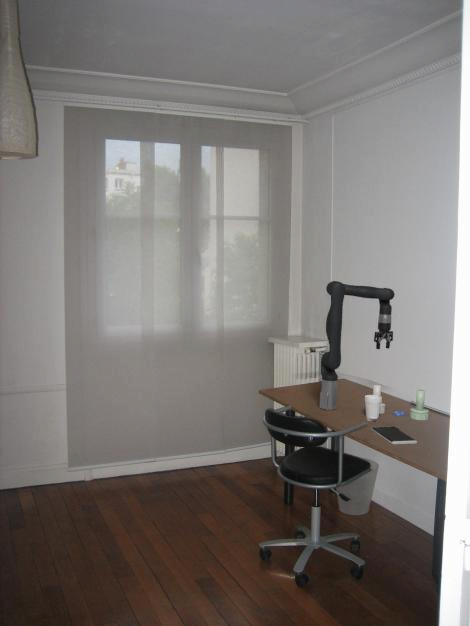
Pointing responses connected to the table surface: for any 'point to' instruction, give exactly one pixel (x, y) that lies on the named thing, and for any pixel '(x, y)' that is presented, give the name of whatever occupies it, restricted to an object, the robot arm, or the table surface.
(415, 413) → the pale green pedestal post
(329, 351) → the robot arm
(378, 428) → the smartphone
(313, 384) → the table surface
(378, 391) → the white joystick
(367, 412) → the foam cup
